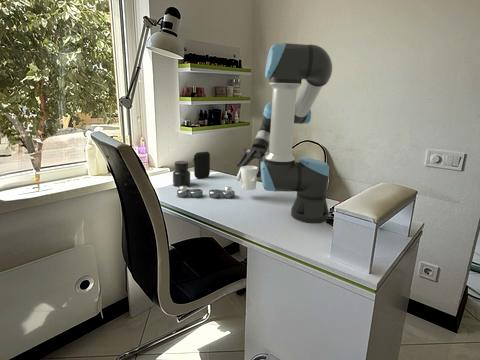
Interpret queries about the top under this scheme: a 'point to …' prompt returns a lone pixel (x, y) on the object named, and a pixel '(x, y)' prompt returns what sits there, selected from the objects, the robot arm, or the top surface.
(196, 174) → the black rounded slab
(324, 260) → the top surface
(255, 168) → the white cup
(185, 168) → the ink bottle
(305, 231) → the top surface
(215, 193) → the chain end right
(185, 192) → the chain end left
